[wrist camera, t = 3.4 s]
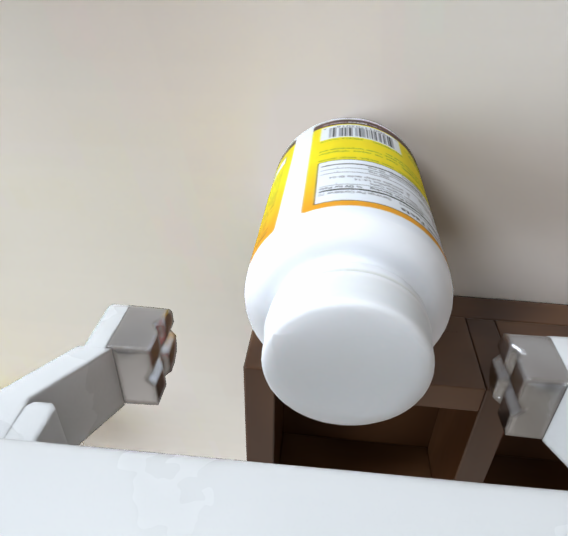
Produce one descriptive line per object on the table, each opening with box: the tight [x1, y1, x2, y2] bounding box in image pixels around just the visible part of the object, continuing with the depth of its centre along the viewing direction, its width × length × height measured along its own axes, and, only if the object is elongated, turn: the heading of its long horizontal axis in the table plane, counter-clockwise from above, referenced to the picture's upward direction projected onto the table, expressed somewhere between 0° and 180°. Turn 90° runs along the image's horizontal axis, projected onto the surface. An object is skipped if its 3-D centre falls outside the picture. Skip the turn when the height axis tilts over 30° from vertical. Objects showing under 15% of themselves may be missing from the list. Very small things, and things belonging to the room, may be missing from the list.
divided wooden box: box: [244, 296, 568, 491], centre depth 23 cm, size 19×10×6 cm, turn 89°
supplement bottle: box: [245, 118, 453, 425], centre depth 16 cm, size 6×6×10 cm
